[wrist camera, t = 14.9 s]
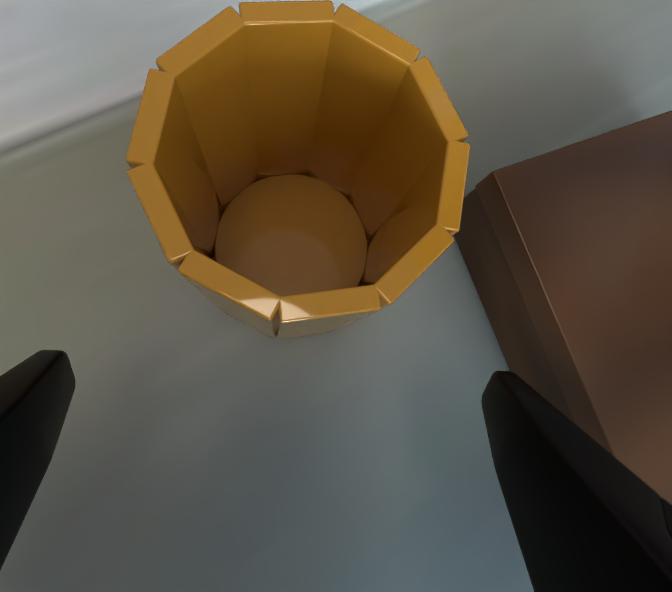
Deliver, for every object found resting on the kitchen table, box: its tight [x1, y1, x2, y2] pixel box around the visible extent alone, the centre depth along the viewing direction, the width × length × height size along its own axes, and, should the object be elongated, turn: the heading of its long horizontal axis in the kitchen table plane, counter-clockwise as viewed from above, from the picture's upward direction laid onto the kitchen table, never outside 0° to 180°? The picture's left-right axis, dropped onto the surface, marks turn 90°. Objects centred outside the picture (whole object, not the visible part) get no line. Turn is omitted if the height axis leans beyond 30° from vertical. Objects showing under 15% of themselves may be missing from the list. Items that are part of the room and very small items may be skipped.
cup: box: [126, 0, 470, 339], centre depth 12 cm, size 6×7×8 cm
